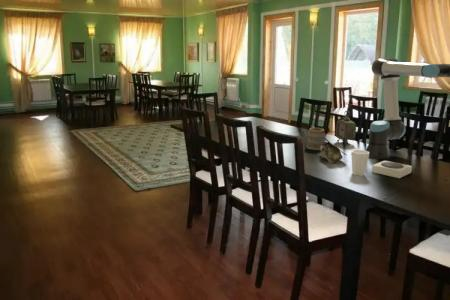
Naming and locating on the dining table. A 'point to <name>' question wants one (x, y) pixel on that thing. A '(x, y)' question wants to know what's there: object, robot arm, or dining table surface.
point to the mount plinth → (391, 169)
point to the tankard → (315, 138)
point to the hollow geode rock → (330, 152)
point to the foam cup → (359, 161)
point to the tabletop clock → (345, 129)
